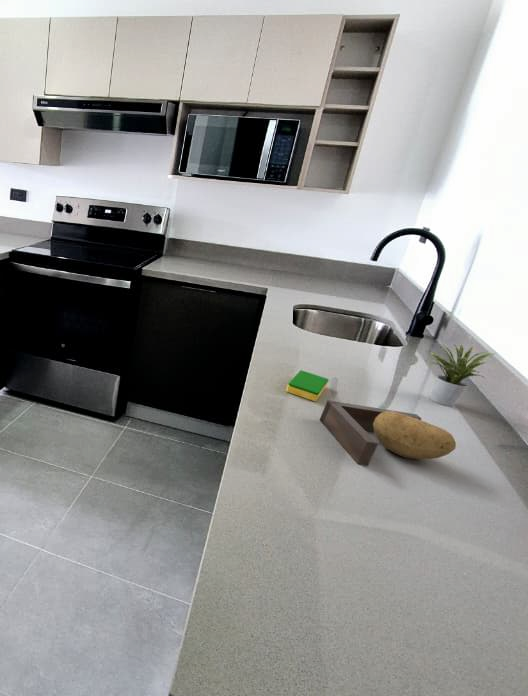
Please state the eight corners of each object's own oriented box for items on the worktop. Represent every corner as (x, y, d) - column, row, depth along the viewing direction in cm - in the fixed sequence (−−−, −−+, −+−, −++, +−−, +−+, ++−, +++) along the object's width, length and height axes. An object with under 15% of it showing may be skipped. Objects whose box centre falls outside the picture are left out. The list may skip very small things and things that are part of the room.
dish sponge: (325, 387, 132) (329, 378, 131) (315, 402, 121) (318, 393, 120) (297, 377, 136) (300, 369, 135) (285, 391, 125) (288, 382, 124)
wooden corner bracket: (406, 433, 112) (416, 414, 110) (459, 480, 95) (472, 458, 93) (319, 419, 112) (327, 400, 110) (357, 464, 96) (367, 441, 94)
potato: (445, 478, 95) (465, 443, 92) (363, 449, 102) (379, 415, 99) (442, 458, 103) (460, 424, 100) (365, 432, 110) (380, 400, 106)
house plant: (442, 390, 142) (470, 336, 135) (488, 414, 130) (521, 356, 123) (401, 388, 139) (427, 333, 132) (444, 412, 127) (475, 352, 120)
